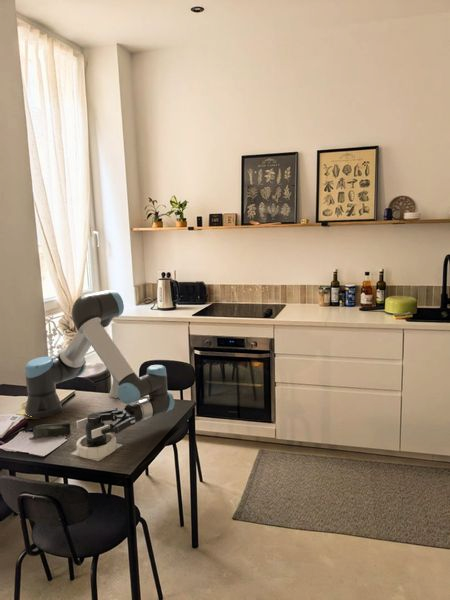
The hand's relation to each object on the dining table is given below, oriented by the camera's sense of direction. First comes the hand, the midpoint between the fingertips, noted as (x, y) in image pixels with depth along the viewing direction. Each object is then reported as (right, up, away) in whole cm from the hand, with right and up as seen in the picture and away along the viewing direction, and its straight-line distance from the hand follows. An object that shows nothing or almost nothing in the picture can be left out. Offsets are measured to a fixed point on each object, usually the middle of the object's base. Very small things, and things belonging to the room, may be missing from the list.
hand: (84, 429), depth 166 cm
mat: (+3, -9, +4) cm, 10 cm away
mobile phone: (-18, -8, +17) cm, 26 cm away
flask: (-2, 0, +59) cm, 59 cm away
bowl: (+3, -8, +4) cm, 10 cm away
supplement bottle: (+3, -8, +4) cm, 9 cm away
